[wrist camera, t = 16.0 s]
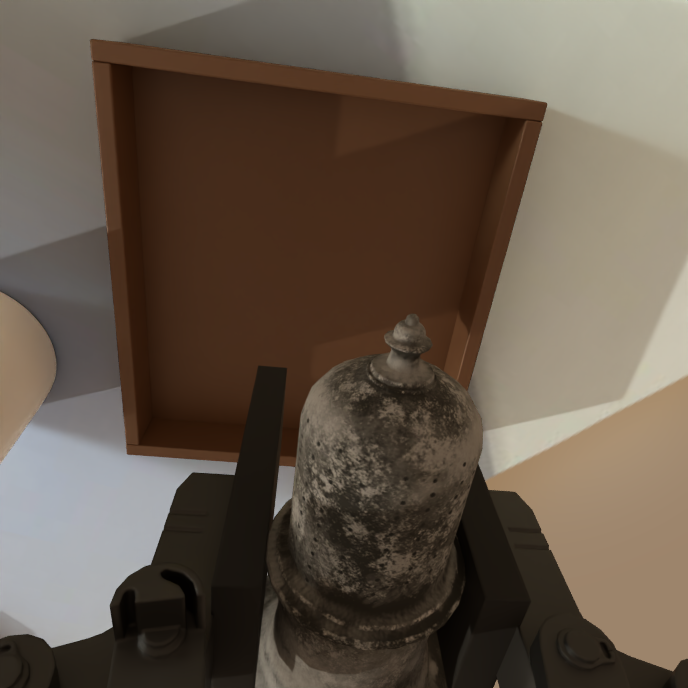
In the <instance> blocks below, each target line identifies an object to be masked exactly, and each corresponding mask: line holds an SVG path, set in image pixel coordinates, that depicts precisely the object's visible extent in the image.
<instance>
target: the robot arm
mask: <svg viewBox="0 0 688 688" xmlns="http://www.w3.org/2000/svg"><path fill="white" fill-rule="evenodd" d="M286 377H287V368H283V367H271V366H259V365H258V369H257V374H256V378H255V383H254V388H253V392H252V397H251V402H250V406H249V411H248V416H247V420H246V425H245V430H244V434H243V439H242V444H241V448H240V453H239V458H238V462H237V467H236V472H235V475H224V474H209V473H192V474H191V475H190V476H189V477H188V478H187V479H186V480H185V481H184V482H183V483H182V484H181V485H180V486H179V487H178V489H177V490H176V493H175V496H174V499H173V502H172V505H171V508H170V513H169V514H168V517H167V520H166V522H165V525H164V531H162V534H161V537H160V540H159V543H158V546H157V549H156V552H155V555H154V557H153V560H152V563H151V565H149V566H145V567H143V568H141V569H140V570H138V571H136V572H135V573H133V574H131V575H129V576H128V577H127V578H126V579H125V581H124V582H123V583H122V584H121V585H120V586H119V587H118V588H117V589H116V592H115V594H114V596H113V599H112V601H111V604H110V610H111V617H112V624H113V627H112V628H110V629H109V630H107V631H105V632H104V633H102V634H99V635H96V636H93V637H91V638H88V639H84V640H80V641H77V642H73V643H69V644H65V645H62V646H58V647H54V648H51V647H50V646H49V645H48V644H47V643H46V642H45V640H44V639H41V638H38V637H35V636H32V635H29V634H25V635H13V636H7V637H4V638H2V639H0V688H210V686H211V688H255V682H256V672H257V663H258V654H259V645H260V636H261V627H262V617H263V608H264V599H265V590H266V581H267V568H266V564H265V559H266V551H267V542H268V533H269V530H270V527H271V525H272V522H273V517H274V507H275V498H276V489H277V480H278V471H279V462H280V452H281V441H282V428H283V415H284V402H285V389H286ZM456 535H457V538H458V541H459V544H460V547H461V550H462V554H463V557H464V562H465V570H466V582H465V585H464V589H463V592H462V595H461V599H460V602H459V605H458V607H457V608H456V610H455V611H454V612H453V614H452V615H451V616H450V618H449V619H448V621H447V622H446V623H445V625H444V626H442V627H441V628H440V629H438V630H437V631H436V632H437V637H438V642H439V647H440V652H441V657H442V662H443V667H444V672H445V677H446V682H447V687H448V688H493V687H494V685H495V682H496V680H498V683H499V687H500V688H688V659H685V660H682V661H681V662H680V663H679V664H678V666H677V667H676V669H675V670H674V671H673V672H672V671H670V670H667V669H664V668H662V667H659V666H656V665H653V664H650V663H647V662H645V661H642V660H638V659H636V658H633V657H631V656H628V655H626V654H624V653H622V652H620V651H617V650H616V648H615V646H614V644H613V643H612V642H611V641H610V640H609V639H608V637H607V636H606V635H605V634H604V633H603V632H602V631H601V630H600V629H599V628H598V627H596V626H595V625H593V624H592V623H590V622H589V621H587V620H586V619H584V618H583V617H582V615H581V613H580V612H579V609H578V607H577V605H576V603H575V601H574V599H573V597H572V594H571V592H570V590H569V588H568V586H567V584H566V582H565V579H564V577H563V575H562V573H561V571H560V569H559V567H558V564H557V562H556V560H555V558H554V556H553V554H552V552H551V550H549V545H548V543H547V541H546V539H545V537H544V534H542V533H541V528H540V526H539V524H538V522H537V519H536V517H535V515H534V513H533V511H532V509H531V508H530V507H529V506H528V505H527V504H526V503H525V502H524V501H523V500H522V499H521V498H520V496H519V495H518V494H517V493H515V492H510V491H494V490H488V488H487V485H486V482H485V480H484V477H483V475H482V472H481V469H480V467H479V464H478V465H477V468H476V471H475V474H474V478H473V481H472V484H471V487H470V491H469V494H468V497H467V500H466V503H465V507H464V510H463V513H462V516H461V520H460V523H459V526H458V529H457V532H456Z"/></svg>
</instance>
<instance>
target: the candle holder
mask: <svg viewBox="0 0 688 688" xmlns="http://www.w3.org/2000/svg"><path fill="white" fill-rule="evenodd" d="M56 368H57V365H56V356H55V351H54V348H53V345H52V343H51V340H50V338H49V336H48V335H47V333H46V331H45V330H44V328H43V327H42V325H41V324H40V323H39V322H38V320H37V319H36V318H35V317H34V316H33V315H32V314H31V313H30V312H29V311H28V310H27V309H26V308H25V307H23V306H22V305H21V304H20V303H18V302H17V301H15V300H14V299H12V298H11V297H9V296H7V295H6V294H4V293H2V292H0V464H1V462H2V461H3V460H4V458H5V457H6V455H7V454H8V452H9V451H10V450H11V448H12V447H13V445H14V444H15V442H16V441H17V440H18V438H19V437H20V435H21V434H22V432H23V431H24V430H25V428H26V427H27V425H28V424H29V422H30V421H31V419H32V418H33V416H34V415H35V414H36V412H37V411H38V409H39V408H40V406H41V405H42V403H43V402H44V400H45V399H46V397H47V395H48V394H49V392H50V390H51V388H52V386H53V383H54V380H55V376H56Z"/></svg>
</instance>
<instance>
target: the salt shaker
mask: <svg viewBox="0 0 688 688" xmlns="http://www.w3.org/2000/svg"><path fill="white" fill-rule="evenodd" d="M384 338H385V342H386V343H387V344H388V345H389V346H390V347H391V352H390V353H384V354H372V355H367V356H363V357H359V358H355V359H351V360H347V361H344V362H343V363H341V364H339V365H337V366H335V367H333V368H332V369H331V370H330V371H328V372H327V373H326V374H325V375H324V376H323V377H321V378H320V379H319V380H318V381H317V382H316V383H315V384H314V385H313V386H312V388H311V390H310V392H309V394H308V397H307V399H306V402H305V404H304V407H303V409H302V412H301V417H300V427H299V437H298V447H297V457H296V466H295V476H294V486H293V496H292V498H291V499H290V500H289V501H287V502H286V504H285V505H284V506H283V507H282V509H281V510H280V511H279V512H278V514H277V515H276V516H275V517H274V520H273V522H272V525H271V527H270V530H269V533H268V542H267V551H266V559H265V564H266V568H267V572H268V575H267V581H266V590H265V599H264V608H263V617H262V627H261V636H260V645H259V654H258V663H257V672H256V682H255V688H448V687H447V682H446V677H445V672H444V667H443V662H442V657H441V652H440V647H439V642H438V637H437V632H436V631H437V630H438V629H440V628H441V627H442V626H444V625H445V623H446V622H447V621H448V619H449V618H450V616H451V615H452V614H453V612H454V611H455V610H456V608H457V607H458V605H459V602H460V599H461V595H462V592H463V589H464V585H465V582H466V570H465V562H464V557H463V554H462V550H461V547H460V544H459V541H458V538H457V535H456V532H457V529H458V526H459V523H460V520H461V516H462V513H463V510H464V507H465V503H466V500H467V497H468V494H469V491H470V487H471V484H472V481H473V478H474V474H475V471H476V468H477V465H478V462H479V458H480V455H481V452H482V444H483V429H482V419H481V417H480V415H479V413H478V411H477V409H476V407H475V405H474V403H473V401H472V399H471V397H470V395H469V393H468V392H467V391H466V389H465V388H464V387H463V386H462V385H461V384H460V383H459V382H458V381H457V380H455V379H454V378H452V377H451V376H450V375H448V374H447V373H445V372H444V371H442V370H441V369H440V368H438V367H437V366H435V365H433V364H430V363H428V362H426V361H424V360H422V359H420V355H421V354H422V353H425V352H427V351H429V350H430V349H431V347H432V346H433V344H432V342H431V339H430V338H428V337H427V336H426V330H425V328H424V326H423V325H422V324H421V323H420V322H419V317H418V316H417V315H416V314H409V315H408V316H407V317H406V319H405V320H402V321H400V322H399V323H398V324H397V325H396V326H395V328H394V330H391V331H388V332H387V333H386V334H385V335H384ZM210 688H211V686H210Z"/></svg>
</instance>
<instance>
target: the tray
mask: <svg viewBox="0 0 688 688" xmlns="http://www.w3.org/2000/svg"><path fill="white" fill-rule="evenodd" d="M90 47H91V58H92V60H94V61H92V69H93V80H94V91H95V102H96V114H97V125H98V136H99V147H100V158H101V169H102V180H103V191H104V203H105V214H106V225H107V236H108V247H109V258H110V269H111V280H112V291H113V303H114V314H115V325H116V336H117V347H118V358H119V369H120V380H121V391H122V403H123V414H124V425H125V436H126V449H127V454H128V455H142V456H156V457H170V458H183V459H197V460H211V461H225V462H238V458H239V453H240V448H241V444H242V439H243V434H244V430H245V425H246V420H247V416H248V411H249V406H250V402H251V397H252V392H253V388H254V383H255V378H256V374H257V369H258V365H259V366H271V367H283V368H287V377H286V389H285V402H284V415H283V428H282V441H281V452H280V462H279V465H280V466H293V467H295V466H296V457H297V447H298V437H299V427H300V417H301V412H302V409H303V407H304V404H305V402H306V399H307V397H308V394H309V392H310V390H311V388H312V386H313V385H314V384H315V383H316V382H317V381H318V380H319V379H320V378H321V377H323V376H324V375H325V374H326V373H327V372H328V371H330V370H331V369H332V368H333V367H335V366H337V365H339V364H341V363H343V362H344V361H347V360H351V359H355V358H359V357H363V356H367V355H372V354H384V353H390V352H391V347H390V346H389V345H388V344H387V343H386V342H385V338H384V335H385V334H386V333H387V332H388V331H391V330H394V328H395V326H396V325H397V324H398V323H399V322H400V321H402V320H405V319H406V317H407V316H408V315H409V314H416V315H417V316H418V317H419V322H420V323H421V324H422V325H423V326H424V328H425V330H426V336H427V337H428V338H430V339H431V342H432V344H433V346H432V347H431V349H430V350H429V351H427V352H425V353H422V354H421V355H420V359H422V360H424V361H426V362H428V363H430V364H433V365H435V366H437V367H438V368H440V369H441V370H442V371H444V372H445V373H447V374H448V375H450V376H451V377H452V378H454V379H455V380H457V381H458V382H459V383H460V384H461V385H462V386H463V387H464V388H465V389H466V391H467V390H468V387H469V383H470V380H471V376H472V373H473V369H474V365H475V362H476V358H477V355H478V351H479V348H480V344H481V340H482V337H483V333H484V330H485V326H486V323H487V319H488V315H489V312H490V308H491V305H492V301H493V298H494V294H495V291H496V287H497V283H498V280H499V276H500V273H501V269H502V266H503V262H504V258H505V255H506V251H507V248H508V244H509V241H510V237H511V233H512V230H513V226H514V223H515V219H516V216H517V212H518V208H519V205H520V201H521V198H522V194H523V191H524V187H525V184H526V180H527V176H528V173H529V169H530V166H531V162H532V159H533V155H534V151H535V148H536V144H537V141H538V137H539V134H540V130H541V126H542V122H541V121H543V119H544V115H545V111H546V108H547V103H546V102H540V101H534V100H529V99H523V98H516V97H509V96H502V95H495V94H488V93H480V92H473V91H466V90H459V89H452V88H445V87H438V86H430V85H423V84H416V83H409V82H402V81H395V80H388V79H380V78H373V77H366V76H359V75H352V74H345V73H338V72H330V71H323V70H316V69H309V68H302V67H295V66H288V65H280V64H273V63H266V62H259V61H252V60H245V59H238V58H230V57H223V56H216V55H209V54H202V53H195V52H188V51H180V50H173V49H166V48H159V47H152V46H145V45H138V44H130V43H123V42H115V41H106V40H96V39H91V40H90Z"/></svg>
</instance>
